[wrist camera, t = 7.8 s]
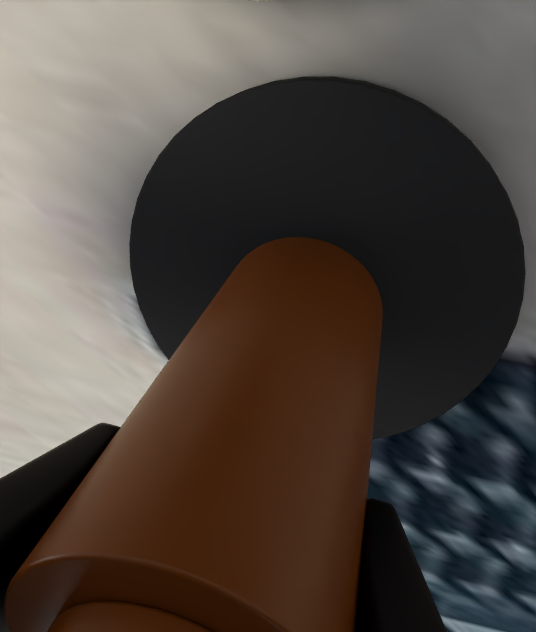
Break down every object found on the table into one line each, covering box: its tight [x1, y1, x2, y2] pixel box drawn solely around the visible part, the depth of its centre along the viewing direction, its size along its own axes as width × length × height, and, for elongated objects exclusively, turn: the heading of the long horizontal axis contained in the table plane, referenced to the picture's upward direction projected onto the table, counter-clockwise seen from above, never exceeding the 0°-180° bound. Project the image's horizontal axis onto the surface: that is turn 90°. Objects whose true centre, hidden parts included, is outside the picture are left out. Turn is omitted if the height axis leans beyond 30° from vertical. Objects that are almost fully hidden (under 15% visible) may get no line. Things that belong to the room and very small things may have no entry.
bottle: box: [4, 237, 383, 632], centre depth 9 cm, size 4×4×12 cm
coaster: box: [129, 77, 525, 439], centre depth 15 cm, size 11×11×1 cm
